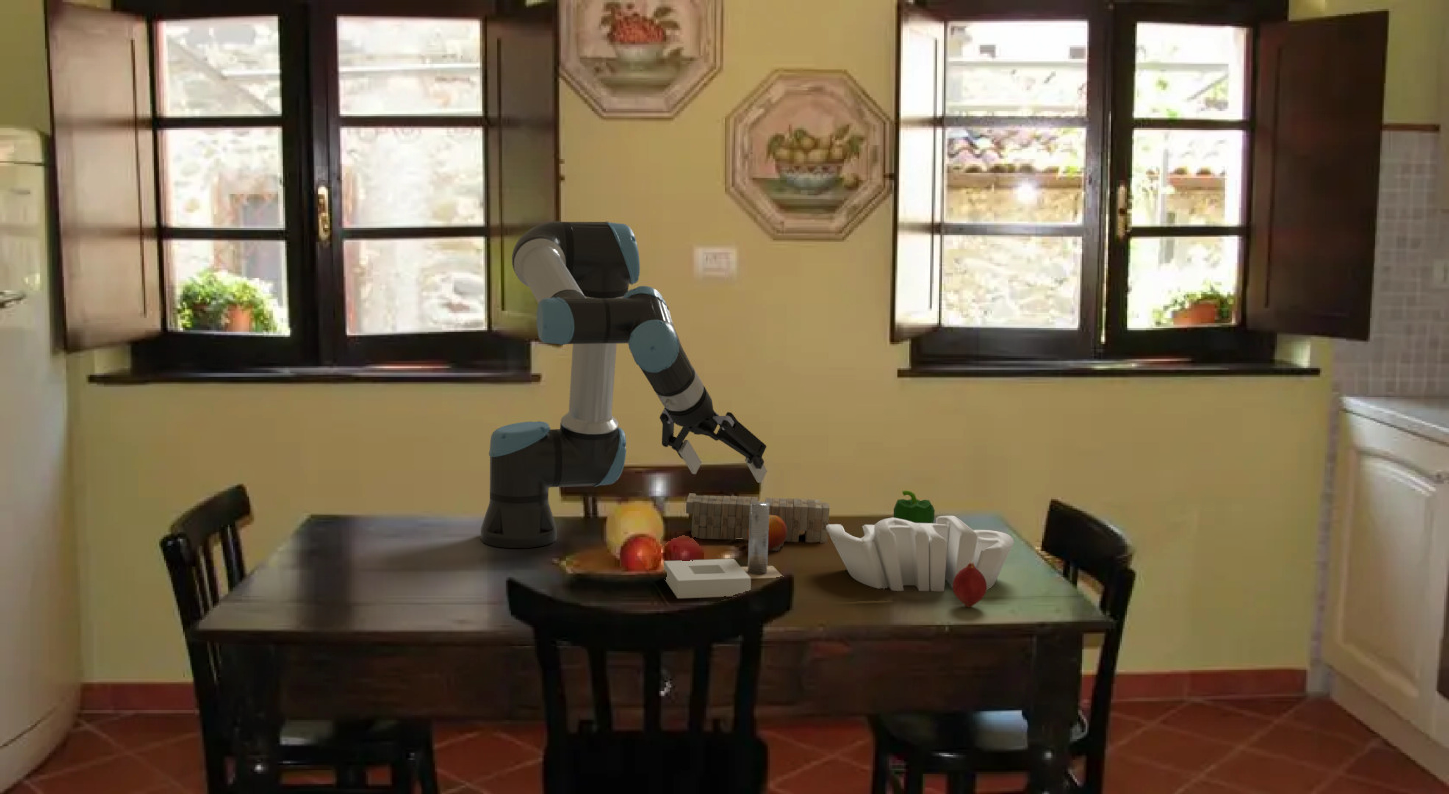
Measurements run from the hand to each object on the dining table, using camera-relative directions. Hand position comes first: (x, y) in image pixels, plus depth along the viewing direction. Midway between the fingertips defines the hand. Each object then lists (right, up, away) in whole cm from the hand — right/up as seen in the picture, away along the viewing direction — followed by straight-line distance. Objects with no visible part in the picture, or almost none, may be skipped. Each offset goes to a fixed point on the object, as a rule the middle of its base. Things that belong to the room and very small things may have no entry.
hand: (729, 472), depth 246 cm
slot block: (-4, -21, +2) cm, 21 cm away
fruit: (+8, -17, +32) cm, 37 cm away
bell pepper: (+39, -16, +44) cm, 61 cm away
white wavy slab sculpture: (+36, -21, +13) cm, 43 cm away
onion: (+42, -23, -4) cm, 48 cm away
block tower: (+6, -16, +42) cm, 45 cm away
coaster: (+5, -20, +13) cm, 24 cm away
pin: (+5, -19, +13) cm, 24 cm away
